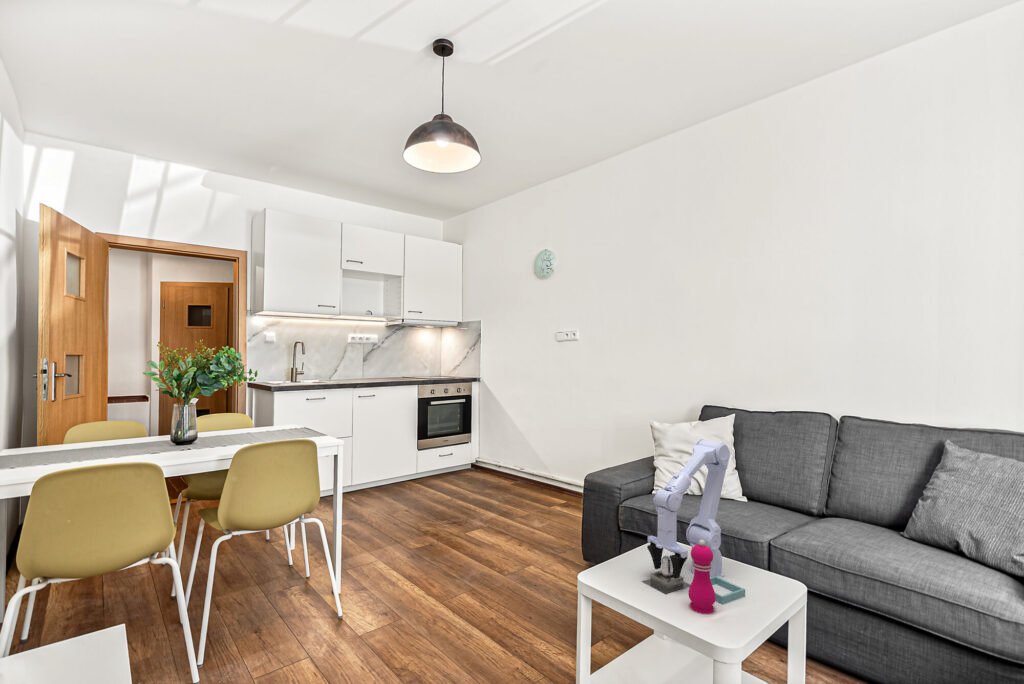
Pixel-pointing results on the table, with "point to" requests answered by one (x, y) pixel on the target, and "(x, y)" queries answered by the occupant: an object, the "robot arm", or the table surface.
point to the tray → (736, 590)
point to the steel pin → (666, 567)
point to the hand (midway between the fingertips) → (666, 573)
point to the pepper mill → (702, 580)
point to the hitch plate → (666, 583)
